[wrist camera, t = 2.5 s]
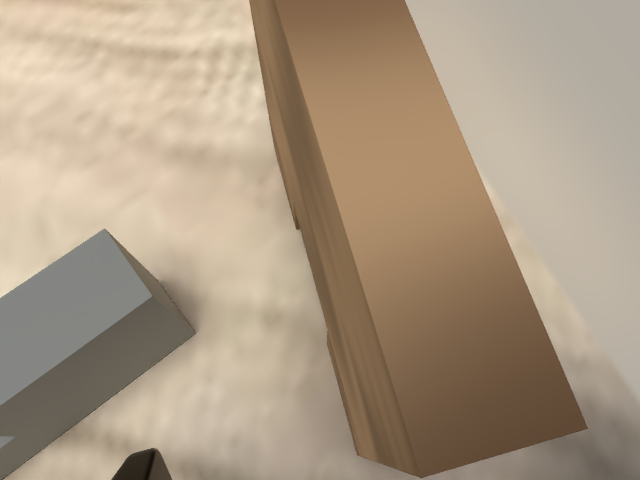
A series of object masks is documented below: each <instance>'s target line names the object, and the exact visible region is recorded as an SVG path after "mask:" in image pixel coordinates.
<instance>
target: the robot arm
mask: <svg viewBox="0 0 640 480" xmlns="http://www.w3.org/2000/svg"><path fill="white" fill-rule="evenodd" d="M112 480H172V478H171V476H170V474H169V471H168V469H167V467H166V464H165V462H164V460H163V458H162V455H161V453H160V452H159V451H158V450H157V449H155V448H151V449H147V450H144V451H140V452H137V453H133V454H131V455H130V456H129V457H128V458H127V459H126V460H125V462H124V463H123V464H122V466H121V467H120V469H119V470H118V471H117V473H116V474H115V475H114V477H113V478H112Z"/></svg>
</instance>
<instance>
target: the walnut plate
mask: <svg viewBox="0 0 640 480" xmlns="http://www.w3.org/2000/svg"><path fill="white" fill-rule="evenodd" d="M249 2H250V8H251V14H252V19H253V25H254V31H255V37H256V43H257V49H258V55H259V61H260V67H261V73H262V78H263V84H264V90H265V96H266V102H267V108H268V114H269V120H270V126H271V131H272V137H273V143H274V149H275V152H276V156H277V160H278V163H279V167H280V171H281V174H282V178H283V182H284V186H285V189H286V193H287V197H288V200H289V204H290V208H291V211H292V215H293V219H294V223H295V226H296V229H300V230H301V233H302V237H303V241H304V244H305V248H306V252H307V255H308V259H309V263H310V266H311V270H312V274H313V277H314V281H315V285H316V288H317V292H318V296H319V299H320V303H321V307H322V310H323V314H324V318H325V321H326V325H327V329H328V332H327V345H328V348H329V352H330V356H331V359H332V363H333V367H334V371H335V374H336V378H337V382H338V385H339V389H340V393H341V396H342V400H343V404H344V408H345V411H346V415H347V419H348V422H349V426H350V430H351V433H352V437H353V441H354V445H355V448H356V452H357V455H359V456H362V457H364V458H367V459H370V460H373V461H376V462H378V463H381V464H384V465H387V466H389V467H392V468H395V469H398V470H401V471H403V472H406V473H409V474H412V475H414V476H417V477H420V478H423V477H427V476H430V475H433V474H437V473H440V472H443V471H447V470H450V469H453V468H457V467H460V466H464V465H467V464H470V463H474V462H477V461H480V460H484V459H487V458H490V457H494V456H497V455H501V454H504V453H507V452H511V451H514V450H517V449H521V448H524V447H528V446H531V445H534V444H538V443H541V442H544V441H548V440H551V439H554V438H558V437H561V436H565V435H568V434H571V433H575V432H578V431H581V430H585V429H588V427H587V425H586V423H585V420H584V418H583V416H582V413H581V411H580V409H579V406H578V404H577V402H576V399H575V397H574V395H573V392H572V390H571V388H570V385H569V383H568V381H567V378H566V376H565V374H564V371H563V369H562V367H561V364H560V362H559V360H558V357H557V355H556V353H555V350H554V348H553V346H552V343H551V341H550V339H549V336H548V334H547V332H546V329H545V327H544V325H543V322H542V320H541V318H540V315H539V313H538V311H537V308H536V306H535V304H534V301H533V299H532V297H531V294H530V292H529V290H528V287H527V285H526V283H525V280H524V278H523V276H522V273H521V271H520V269H519V266H518V264H517V262H516V259H515V257H514V255H513V252H512V250H511V248H510V245H509V243H508V241H507V238H506V236H505V234H504V231H503V229H502V227H501V224H500V222H499V220H498V217H497V215H496V213H495V210H494V208H493V206H492V203H491V201H490V199H489V196H488V194H487V192H486V189H485V187H484V185H483V182H482V180H481V178H480V175H479V173H478V171H477V168H476V166H475V164H474V161H473V159H472V157H471V154H470V152H469V150H468V147H467V145H466V143H465V140H464V138H463V136H462V133H461V131H460V129H459V126H458V124H457V122H456V119H455V117H454V115H453V112H452V110H451V108H450V105H449V103H448V101H447V98H446V96H445V94H444V91H443V89H442V87H441V85H440V82H439V80H438V77H437V75H436V73H435V70H434V68H433V66H432V63H431V61H430V59H429V56H428V54H427V52H426V49H425V47H424V45H423V42H422V40H421V38H420V35H419V33H418V31H417V28H416V26H415V24H414V21H413V19H412V17H411V14H410V12H409V9H408V7H407V5H406V3H405V0H249Z"/></svg>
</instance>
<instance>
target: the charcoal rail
mask: <svg viewBox="0 0 640 480" xmlns="http://www.w3.org/2000/svg"><path fill="white" fill-rule="evenodd" d="M194 334H196V333H195V331H194V330H193V329H192V327H191V326H190V324H189V323H188V322H187V320H186V319H185V317H184V316H183V315H182V313H181V312H180V311H179V309H178V308H177V306H176V305H175V304H174V302H173V301H172V299H171V298H170V297H169V295H168V294H167V293H166V291H165V290H164V288H163V287H162V286H161V284H160V283H159V281H158V280H157V279H156V278H155V277H154V276H153V275H152V274H151V273H150V272H149V271H148V270H147V269H145V268H144V267H143V266H142V265H141V264H140V263H139V262H138V261H137V260H136V259H135V258H134V257H133V256H132V255H131V254H130V253H129V252H128V251H127V250H126V249H125V248H124V247H123V246H122V245H121V244H120V243H119V242H118V241H117V240H116V239H115V238H114V237H113V236H112V235H111V234H110V233H109V232H108V231H107V230H106V229H103V230H102V231H100V232H99V233H97V234H96V235H94V236H93V237H91V238H90V239H88V240H87V241H85V242H84V243H82V244H81V245H79V246H78V247H76V248H75V249H73V250H72V251H70V252H69V253H67V254H66V255H64V256H63V257H61V258H60V259H58V260H57V261H55V262H54V263H52V264H51V265H49V266H48V267H46V268H45V269H43V270H42V271H40V272H39V273H37V274H36V275H34V276H33V277H31V278H30V279H28V280H27V281H25V282H24V283H22V284H21V285H19V286H18V287H16V288H15V289H13V290H12V291H10V292H9V293H7V294H6V295H4V296H3V297H1V298H0V480H2V479H3V478H5V477H6V476H7V475H9V474H10V473H11V472H13V471H14V470H15V469H17V468H18V467H19V466H21V465H22V464H23V463H25V462H26V461H27V460H29V459H30V458H31V457H33V456H34V455H35V454H37V453H38V452H39V451H41V450H42V449H43V448H45V447H46V446H47V445H49V444H50V443H51V442H52V441H54V440H55V439H56V438H58V437H59V436H60V435H62V434H63V433H64V432H66V431H67V430H68V429H70V428H71V427H72V426H74V425H75V424H76V423H78V422H79V421H80V420H82V419H83V418H84V417H86V416H87V415H88V414H90V413H91V412H92V411H94V410H95V409H96V408H98V407H99V406H100V405H102V404H103V403H104V402H106V401H107V400H108V399H110V398H111V397H112V396H114V395H115V394H116V393H117V392H119V391H120V390H121V389H123V388H124V387H125V386H127V385H128V384H129V383H131V382H132V381H133V380H135V379H136V378H137V377H139V376H140V375H141V374H143V373H144V372H145V371H147V370H148V369H149V368H151V367H152V366H153V365H155V364H156V363H157V362H159V361H160V360H161V359H163V358H164V357H165V356H167V355H168V354H169V353H171V352H172V351H173V350H175V349H176V348H177V347H179V346H180V345H181V344H183V343H184V342H185V341H186V340H188V339H189V338H190V337H192V336H193V335H194Z"/></svg>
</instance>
